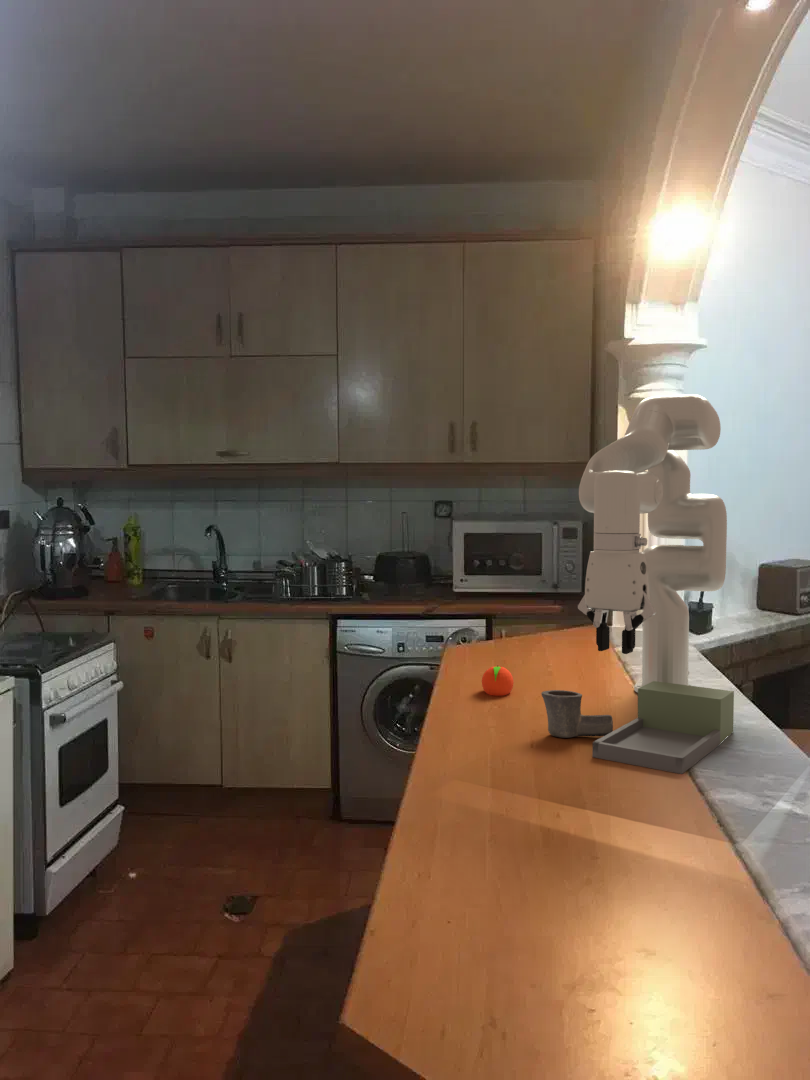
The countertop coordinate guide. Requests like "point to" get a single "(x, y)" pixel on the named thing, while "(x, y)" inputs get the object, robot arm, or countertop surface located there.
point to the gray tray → (670, 727)
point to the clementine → (497, 681)
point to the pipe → (572, 716)
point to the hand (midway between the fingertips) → (615, 650)
